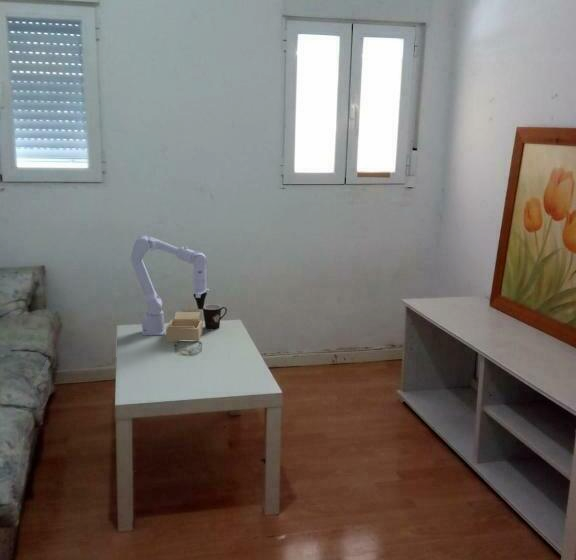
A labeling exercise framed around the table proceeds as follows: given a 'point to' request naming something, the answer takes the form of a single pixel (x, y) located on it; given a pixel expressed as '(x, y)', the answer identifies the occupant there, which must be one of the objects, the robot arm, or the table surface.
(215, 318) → the coffee mug
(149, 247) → the robot arm
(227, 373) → the table surface
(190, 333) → the carton
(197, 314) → the flap far
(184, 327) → the flap near
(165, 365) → the table surface
